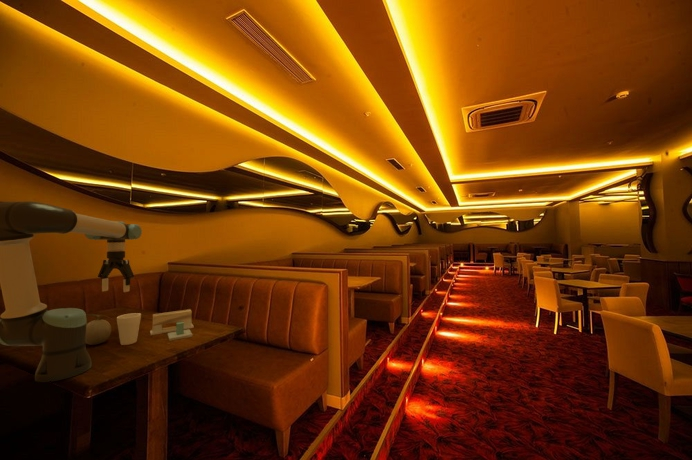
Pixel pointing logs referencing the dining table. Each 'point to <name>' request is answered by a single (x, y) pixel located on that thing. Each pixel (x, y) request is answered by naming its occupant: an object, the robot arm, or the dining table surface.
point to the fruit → (97, 330)
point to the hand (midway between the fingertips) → (115, 291)
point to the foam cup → (128, 328)
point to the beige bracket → (169, 328)
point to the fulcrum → (179, 332)
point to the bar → (172, 317)
